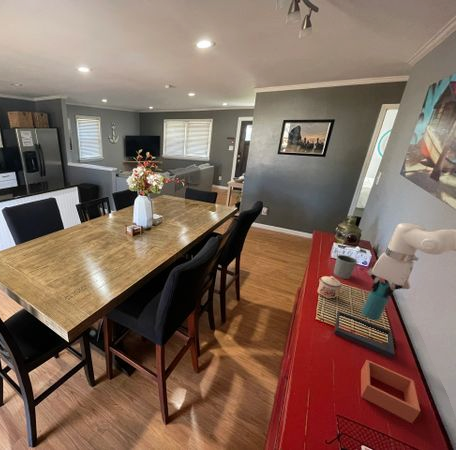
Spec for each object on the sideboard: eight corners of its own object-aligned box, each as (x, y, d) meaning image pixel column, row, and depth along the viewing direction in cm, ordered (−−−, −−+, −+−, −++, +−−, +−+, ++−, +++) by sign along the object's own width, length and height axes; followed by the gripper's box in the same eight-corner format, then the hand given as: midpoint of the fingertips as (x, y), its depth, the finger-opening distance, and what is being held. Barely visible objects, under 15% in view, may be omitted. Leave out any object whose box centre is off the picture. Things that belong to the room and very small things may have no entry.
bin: (406, 391, 84) (413, 380, 82) (412, 423, 75) (420, 411, 73) (360, 370, 91) (366, 359, 89) (361, 396, 82) (367, 385, 80)
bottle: (379, 314, 104) (393, 283, 98) (379, 322, 99) (395, 290, 93) (361, 308, 107) (374, 278, 101) (361, 315, 103) (375, 284, 97)
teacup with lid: (316, 295, 133) (322, 278, 128) (316, 287, 140) (322, 270, 135) (342, 304, 127) (350, 286, 122) (342, 295, 134) (348, 277, 129)
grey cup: (353, 281, 147) (360, 264, 143) (334, 277, 150) (340, 261, 145) (347, 272, 156) (353, 256, 152) (329, 269, 159) (334, 253, 154)
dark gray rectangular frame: (388, 335, 108) (391, 330, 107) (392, 358, 96) (395, 354, 95) (336, 314, 119) (338, 310, 118) (333, 334, 108) (335, 329, 107)
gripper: (431, 261, 88) (410, 302, 94) (376, 244, 101) (360, 280, 107) (425, 267, 84) (404, 308, 91) (368, 248, 97) (353, 285, 104)
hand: (380, 293), depth 99 cm, fingers closed on bottle, 3 cm apart
